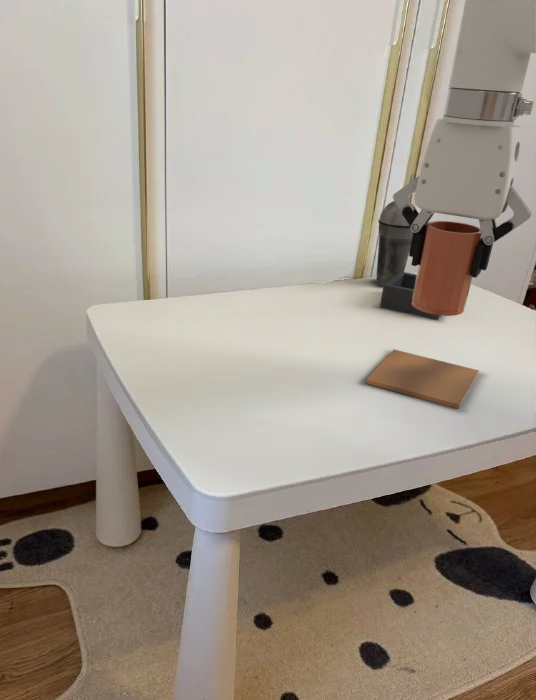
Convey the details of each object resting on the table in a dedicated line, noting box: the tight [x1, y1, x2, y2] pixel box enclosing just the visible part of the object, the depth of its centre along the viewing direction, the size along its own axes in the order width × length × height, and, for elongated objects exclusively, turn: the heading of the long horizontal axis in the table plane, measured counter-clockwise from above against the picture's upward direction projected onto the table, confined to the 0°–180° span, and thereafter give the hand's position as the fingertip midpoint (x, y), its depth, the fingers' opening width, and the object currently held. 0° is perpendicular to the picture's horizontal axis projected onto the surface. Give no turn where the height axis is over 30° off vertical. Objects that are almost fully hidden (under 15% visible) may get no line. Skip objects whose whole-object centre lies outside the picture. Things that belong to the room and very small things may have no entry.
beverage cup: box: [375, 174, 415, 287], centre depth 117 cm, size 7×7×20 cm
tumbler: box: [412, 220, 482, 317], centre depth 78 cm, size 6×6×10 cm
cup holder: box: [379, 271, 442, 321], centre depth 110 cm, size 10×10×4 cm
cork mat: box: [365, 349, 480, 410], centre depth 84 cm, size 12×12×1 cm
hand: (445, 267), depth 77 cm, fingers closed on tumbler, 6 cm apart
